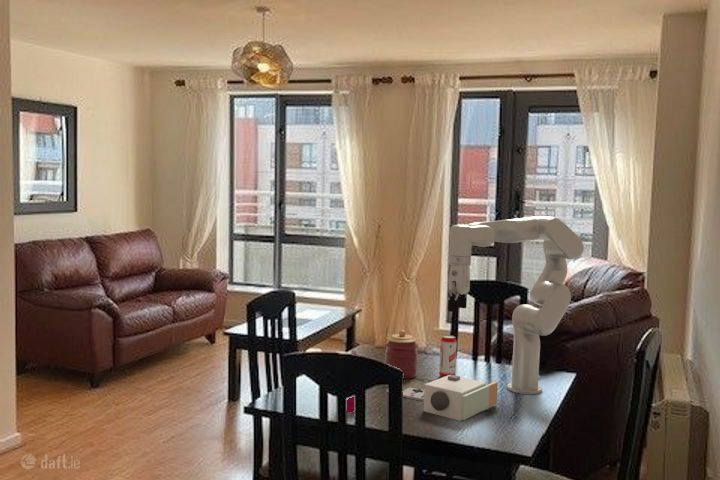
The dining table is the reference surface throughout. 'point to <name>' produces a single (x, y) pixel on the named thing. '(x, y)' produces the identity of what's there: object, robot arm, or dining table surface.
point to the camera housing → (448, 395)
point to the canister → (402, 353)
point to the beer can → (447, 355)
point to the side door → (479, 400)
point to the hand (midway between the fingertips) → (457, 309)
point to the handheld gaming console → (414, 394)
